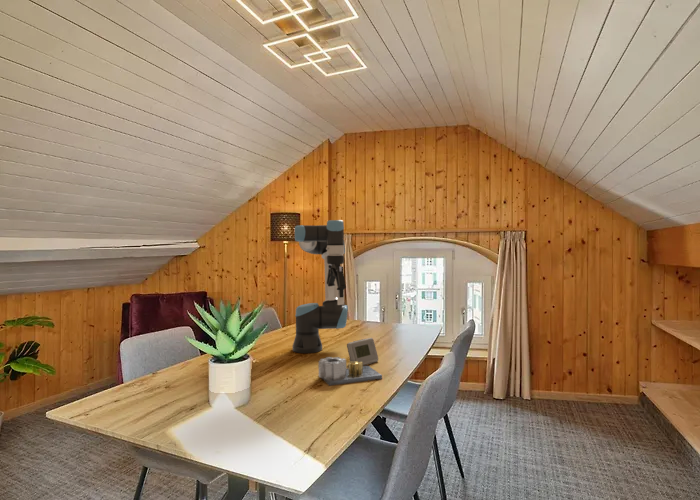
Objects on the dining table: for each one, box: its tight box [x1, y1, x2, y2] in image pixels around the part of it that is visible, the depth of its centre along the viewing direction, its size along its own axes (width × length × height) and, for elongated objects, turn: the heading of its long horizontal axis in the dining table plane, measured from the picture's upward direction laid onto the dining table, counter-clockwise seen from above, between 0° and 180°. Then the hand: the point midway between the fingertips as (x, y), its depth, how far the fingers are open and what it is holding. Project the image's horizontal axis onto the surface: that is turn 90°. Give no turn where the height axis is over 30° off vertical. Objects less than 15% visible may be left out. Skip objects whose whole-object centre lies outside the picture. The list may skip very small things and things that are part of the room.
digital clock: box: [346, 337, 379, 366], centre depth 192 cm, size 16×9×11 cm, turn 121°
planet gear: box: [318, 356, 347, 380], centre depth 170 cm, size 11×11×6 cm
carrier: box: [321, 360, 383, 386], centre depth 173 cm, size 14×22×6 cm, turn 110°
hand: (335, 302), depth 191 cm, fingers open, 13 cm apart
